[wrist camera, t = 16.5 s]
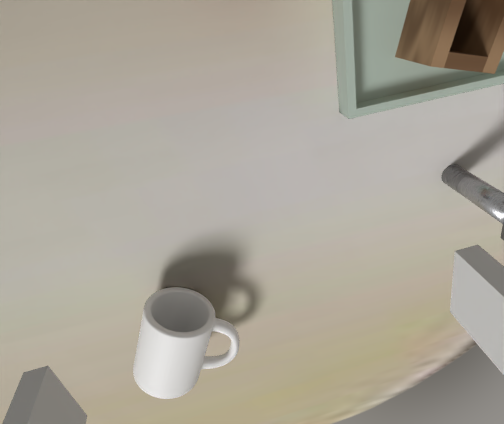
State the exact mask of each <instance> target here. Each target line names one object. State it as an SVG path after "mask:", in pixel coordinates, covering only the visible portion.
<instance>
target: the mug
mask: <svg viewBox="0 0 504 424" xmlns="http://www.w3.org/2000/svg"><path fill="white" fill-rule="evenodd" d="M212 331H216V332H220V333H223V334H225V335H227V336H228V337H229V338H230V339H231V346H230V348H229V350H228V351H227V352H226V353H225V354H222V355H219V356H205V353H206V349H207V346H208V342H209V339H210V336H211V332H212ZM238 349H239V335H238V332H237V330H236V328H235V327H234V326H233V325H232V324H231V323H229V322H227V321H225V320H222V319H219V318H215V310H214V308H213V306H212V304H211V303H210V301H209V300H208V299H207V298H206V297H204V296H203V295H202V294H200V293H198V292H196V291H194V290H191V289H187V288H181V287H171V288H165V289H162V290H159V291H157V292H155V293H154V294H152V295H151V296H150V297H149V298H148V299H147V301H146V303H145V305H144V310H143V316H142V321H141V327H140V333H139V338H138V344H137V350H136V355H135V361H134V367H133V374H134V378H135V381H136V383H137V384H138V386H139V387H140V388H141V389H142V390H143V391H144V392H146V393H147V394H149V395H151V396H153V397H157V398H162V399H171V398H176V397H180V396H182V395H184V394H186V393H187V392H189V391H190V390H191V389H192V388H193V387H194V386H195V384H196V382H197V380H198V377H199V374H200V370H201V369H211V368H216V367H220V366H223V365H225V364H227V363H229V362H230V361H231V360H233V359H234V357H235V356H236V355H237V352H238Z"/></svg>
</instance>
